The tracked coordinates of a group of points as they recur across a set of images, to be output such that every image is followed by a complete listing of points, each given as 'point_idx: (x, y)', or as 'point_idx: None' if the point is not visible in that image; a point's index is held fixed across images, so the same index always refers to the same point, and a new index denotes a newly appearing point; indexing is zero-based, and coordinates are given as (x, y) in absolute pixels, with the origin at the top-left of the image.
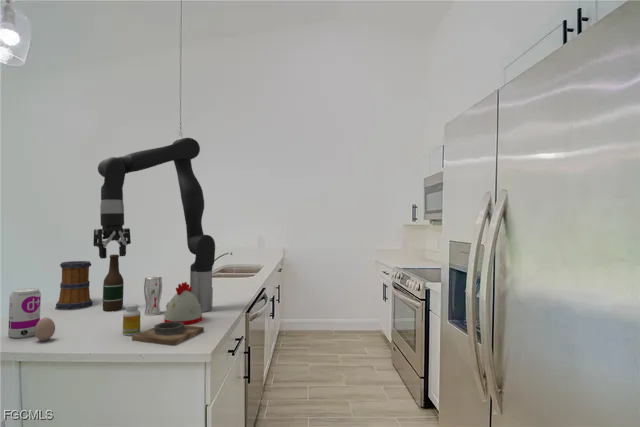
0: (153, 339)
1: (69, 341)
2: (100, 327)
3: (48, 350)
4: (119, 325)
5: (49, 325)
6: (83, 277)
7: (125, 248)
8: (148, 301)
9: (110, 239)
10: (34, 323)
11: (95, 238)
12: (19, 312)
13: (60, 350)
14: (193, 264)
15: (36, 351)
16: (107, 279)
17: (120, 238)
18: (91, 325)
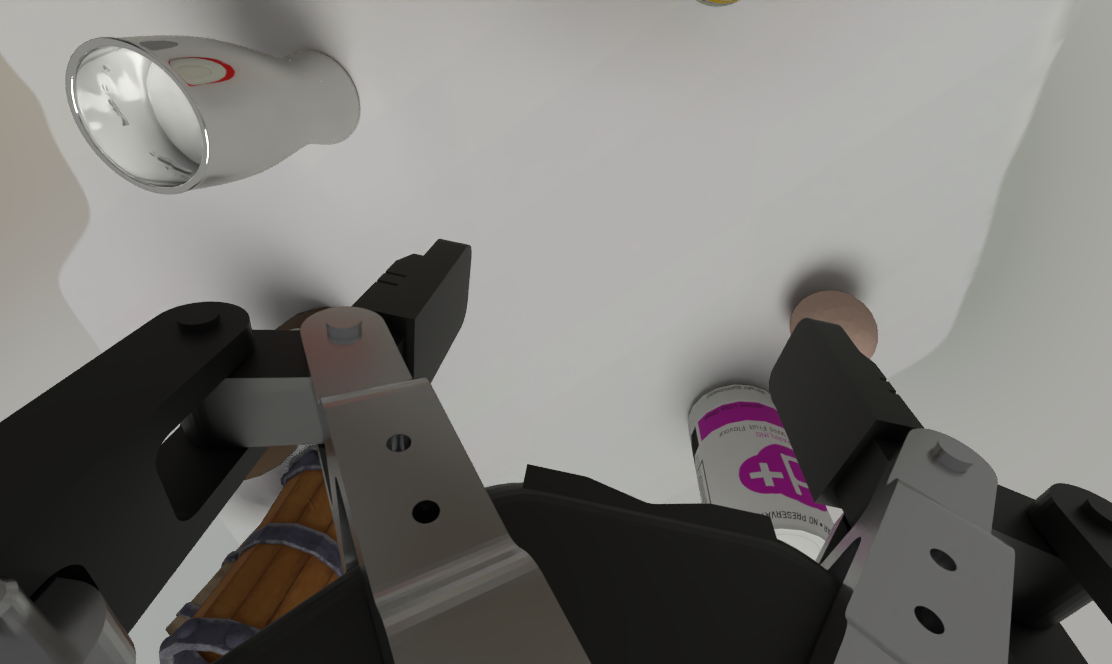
0: None
1: (843, 200)
2: (615, 209)
3: (975, 199)
4: (571, 137)
5: (861, 313)
6: (274, 571)
7: (373, 300)
8: (313, 111)
9: (916, 535)
10: (759, 409)
11: None
12: None
13: (990, 146)
14: None
15: (977, 239)
16: (276, 449)
17: (463, 477)
18: (587, 270)
